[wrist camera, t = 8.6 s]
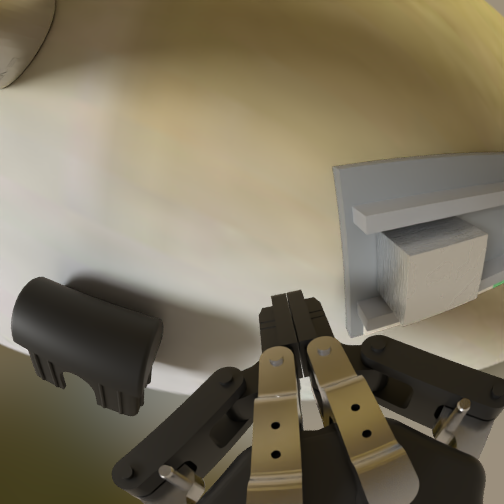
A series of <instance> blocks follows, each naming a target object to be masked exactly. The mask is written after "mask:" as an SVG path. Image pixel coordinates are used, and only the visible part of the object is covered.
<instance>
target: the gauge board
mask: <svg viewBox="0 0 504 504" xmlns="http://www.w3.org/2000/svg"><path fill="white" fill-rule="evenodd" d="M332 168H333V174H334V181H335V188H336V196H337V203H338V212H339V221H340V230H341V240H342V252H343V265H344V281H345V302H346V329H347V331H348V333H349V336H350V338H353V337H357V336H361V335H368V334H371V333H375V332H378V331H381V330H385V329H388V328H391V327H394V326H397V325H400V324H401V323H400V321H399V320H398V319H397V317H396V316H395V314H394V313H393V311H392V310H391V309H390V307H389V306H388V304H387V303H386V302H385V300H384V299H383V298H382V296H381V295H380V293H379V292H378V291H377V278H378V259H377V233H378V232H382V231H387V230H392V229H396V228H401V227H406V226H410V225H415V224H419V223H424V222H429V221H433V220H438V219H442V218H447V217H451V216H456V217H458V218H460V219H462V220H464V221H466V222H468V223H469V224H471V225H473V226H475V227H477V228H478V229H480V230H482V231H483V232H485V233H487V234H488V239H487V247H486V253H485V260H484V265H483V271H482V276H481V281H480V286H479V290H478V294H481V293H483V292H485V291H487V290H489V289H491V288H495V287H497V286H499V285H501V284H503V283H504V152H476V153H454V154H438V155H425V156H414V157H404V158H394V159H385V160H377V161H369V162H361V163H354V164H347V165H340V166H334V167H332ZM478 294H477V295H478Z"/></svg>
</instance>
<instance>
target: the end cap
mask: <svg viewBox="0 0 504 504" xmlns="http://www.w3.org/2000/svg"><path fill="white" fill-rule="evenodd" d="M11 329H12V336H13V341H14V342H16V343H17V344H19V345H21V346H22V347H24V348H26V349H27V350H28V351H29V354H30V357H31V360H32V363H33V366H34V368H35V371H36V374H37V375H38V376H39V377H41V378H42V379H43V380H46V381H48V382H50V383H52V384H54V385H55V386H56V387H60V388H62V389H64V388H65V387H66V383H65V380H64V377H63V372H70V373H73V374H75V375H77V376H79V377H80V378H82V379H83V380H85V381H86V382H87V383H88V384H89V385H90V386H91V387H92V389H93V390H94V392H95V395H96V400H97V404H98V405H101V406H102V407H103V408H108V409H111V410H114V411H116V412H119V413H120V414H125V415H128V416H135V415H136V414H138V412H139V409H140V406H143V404H144V388H146V387H147V384H149V383H150V382H151V372H152V365H153V362H154V360H155V356H156V353H157V350H158V347H159V345H160V342H161V339H162V334H163V323H162V321H161V320H160V319H158V318H155V317H151V316H148V315H145V314H142V313H139V312H136V311H132V310H129V309H126V308H123V307H120V306H117V305H115V304H112V303H109V302H106V301H103V300H100V299H98V298H95V297H92V296H90V295H87V294H84V293H82V292H79V291H76V290H74V289H71V288H69V287H66V286H64V285H61V284H59V283H57V282H54V281H52V280H50V279H47V278H45V277H37V278H35V279H32V280H31V281H30V282H28V283H27V284H26V286H25V287H24V288H23V289H22V291H21V292H20V294H19V296H18V298H17V300H16V302H15V305H14V309H13V313H12V321H11Z"/></svg>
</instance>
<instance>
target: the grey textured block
mask: <svg viewBox="0 0 504 504" xmlns="http://www.w3.org/2000/svg"><path fill="white" fill-rule="evenodd" d="M487 239H488V234H487V233H485V232H483V231H482V230H480V229H478V228H477V227H475V226H473V225H471V224H469V223H468V222H466V221H464V220H462V219H460V218H458V217H456V216H451V217H447V218H442V219H438V220H433V221H429V222H424V223H419V224H415V225H410V226H406V227H401V228H396V229H392V230H387V231H382V232H378V233H377V259H378V278H377V291H378V292H379V293H380V295H381V296H382V298H383V299H384V300H385V302H386V303H387V304H388V306H389V307H390V309H391V310H392V311H393V313H394V314H395V316H396V317H397V319H398V320H399V321H400V323H401V324H402V326H403V327H404V326H407V325H410V324H413V323H416V322H419V321H421V320H424V319H427V318H430V317H432V316H435V315H437V314H440V313H443V312H445V311H448V310H450V309H453V308H455V307H457V306H460V305H462V304H465V303H467V302H469V301H471V300H474V299H476V298H477V294H478V290H479V286H480V281H481V276H482V271H483V265H484V260H485V253H486V247H487Z"/></svg>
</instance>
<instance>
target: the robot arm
mask: <svg viewBox="0 0 504 504" xmlns="http://www.w3.org/2000/svg"><path fill="white" fill-rule="evenodd" d="M54 11H55V0H0V89H1V88H4V87H6V86H8V85H9V84H10V83H12V82H13V81H14V80H15V79H16V78H17V77H18V76H19V75H20V74H21V73H22V72H23V71H24V70H25V68H26V67H27V66H28V65H29V64H30V62H31V61H32V59H33V58H34V56H35V55H36V53H37V52H38V50H39V48H40V46H41V45H42V43H43V41H44V39H45V37H46V35H47V33H48V31H49V28H50V25H51V22H52V20H53V16H54ZM287 298H288V301H287ZM271 299H272V305H273V306H271V307H266V308H262V310H261V312H260V314H259V323H260V334H261V345H262V355H261V356H260V359H259V361H258V362H257V363H256V364H255V365H254V366H252V367H250V368H248V369H245V370H243V371H240V370H239V369H237V368H235V367H225V368H221V369H219V370H217V371H216V372H214V373H213V374H212V375H211V376H210V377H209V378H208V379H207V380H206V381H205V382H204V383H203V384H202V385H201V386H200V387H199V388H198V389H197V390H196V391H195V392H194V393H193V394H192V395H191V396H190V397H189V398H188V399H187V400H186V401H185V402H184V403H183V404H182V405H181V406H180V407H179V408H177V410H175V411H174V412H173V413H172V414H171V415H170V416H169V417H168V418H167V419H166V420H165V421H164V422H163V423H161V424H160V425H159V426H158V427H157V428H156V429H155V430H154V431H153V432H151V433H150V434H149V435H148V436H147V437H146V438H145V439H144V440H143V441H142V442H140V443H139V444H138V445H137V446H136V447H135V448H133V449H132V450H131V451H130V452H129V453H128V454H126V455H125V456H124V457H123V458H122V459H121V460H119V461H118V462H117V463H116V464H115V466H114V467H113V470H112V479H113V481H114V483H115V484H116V485H117V486H118V487H120V488H121V489H123V490H125V491H127V492H128V493H130V494H131V495H133V496H135V497H136V498H138V499H140V500H141V501H142V502H143V503H144V504H483V494H484V488H485V482H486V479H485V478H486V476H485V471H484V468H483V466H482V464H481V463H480V461H479V460H478V459H479V457H480V454H481V452H482V450H483V448H484V445H485V443H486V440H487V438H488V435H489V433H490V430H491V428H492V425H493V422H494V420H495V419H496V418H497V416H498V415H499V414H500V413H501V411H502V410H503V409H504V379H502V378H499V377H496V376H493V375H490V374H487V373H484V372H481V371H479V370H476V369H473V368H470V367H467V366H464V365H461V364H459V363H456V362H453V361H450V360H448V359H445V358H442V357H439V356H437V355H434V354H431V353H429V352H426V351H423V350H421V349H418V348H415V347H413V346H410V345H407V344H405V343H402V342H399V341H397V340H394V339H392V338H389V337H387V336H383V335H374V336H371V337H369V338H367V339H366V340H365V341H364V342H363V343H362V345H345V344H342V343H340V342H339V341H338V340H337V339H336V338H335V337H334V335H333V333H332V330H331V328H330V325H329V323H328V320H327V318H326V316H325V313H324V311H323V308H322V306H321V303H320V302H319V301H318V300H316V299H315V298H314V297H312V298H308V299H304V297H303V294H302V291H301V290H297V291H293V292H288V293H287V297H286V293H284V294H279V295H274V296H271ZM288 304H289V305H288ZM300 360H301V361H300ZM301 364H302V368H301ZM302 369H303V373H304V377H308V376H309V377H310V381H311V388H312V392H313V395H314V398H315V401H316V404H317V407H318V410H319V413H320V416H321V419H322V422H323V426H324V428H322V429H320V430H315V431H304V430H303V418H302V407H301V397H300V389H301V386H300V380H299V378H303V374H302ZM378 404H379V405H381V406H383V407H385V408H387V409H389V410H391V411H393V412H395V413H398V414H400V415H402V416H404V417H406V418H408V419H411V420H413V421H415V422H417V423H420V424H422V425H424V426H427V427H429V428H431V429H432V433H433V436H434V438H435V439H433V438H431V437H429V436H427V435H425V434H423V433H421V432H419V431H417V430H415V429H413V428H411V427H409V426H407V425H405V424H403V423H401V422H399V421H397V420H394V419H391V418H386V417H384V415H383V413H382V411H381V409H380V407H379V405H378ZM252 423H253V437H252V438H253V439H252V446H250V447H249V448H247V449H246V450H244V451H243V452H242V453H241V454H240V455H239V456H238V457H237V458H236V459H235V460H234V461H233V462H232V464H231V465H230V466H229V468H227V470H226V471H225V472H224V473H223V474H222V475H221V477H220V478H219V479H218V480H217V481H216V482H215V483H214V485H213V486H212V487H211V488H210V489H209V490H208V491H207V492H206V493H205V494H204V495H203V496H202V498H201V499H200V500H199V498H200V497H201V495H202V494H203V492H204V490H205V483H204V480H203V478H204V477H205V475H206V474H207V473H208V472H209V471H210V470H211V469H212V468H213V467H214V466H215V465H216V464H217V463H218V462H219V461H220V460H221V459H222V458H223V457H224V456H225V454H226V453H227V452H228V451H229V450H230V449H231V448H232V447H233V445H234V444H235V443H236V442H237V441H238V440H239V439H240V438H241V436H242V435H243V434H244V433H245V432H246V431H247V429H248V428H249V427H250V426H251V424H252ZM198 500H199V501H198Z"/></svg>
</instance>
